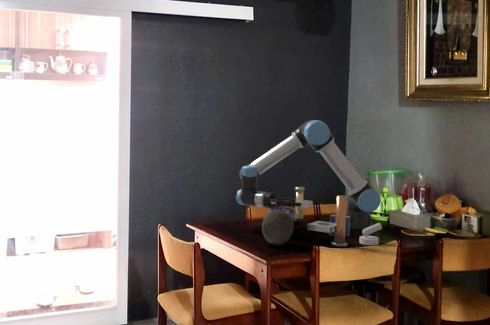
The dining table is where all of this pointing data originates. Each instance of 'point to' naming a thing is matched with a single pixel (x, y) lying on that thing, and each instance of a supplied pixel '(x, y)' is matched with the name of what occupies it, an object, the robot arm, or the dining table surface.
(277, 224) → the cantaloupe
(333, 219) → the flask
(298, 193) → the glass vial
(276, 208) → the geode
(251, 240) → the dining table surface
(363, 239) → the wall hook
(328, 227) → the rosette bracket
